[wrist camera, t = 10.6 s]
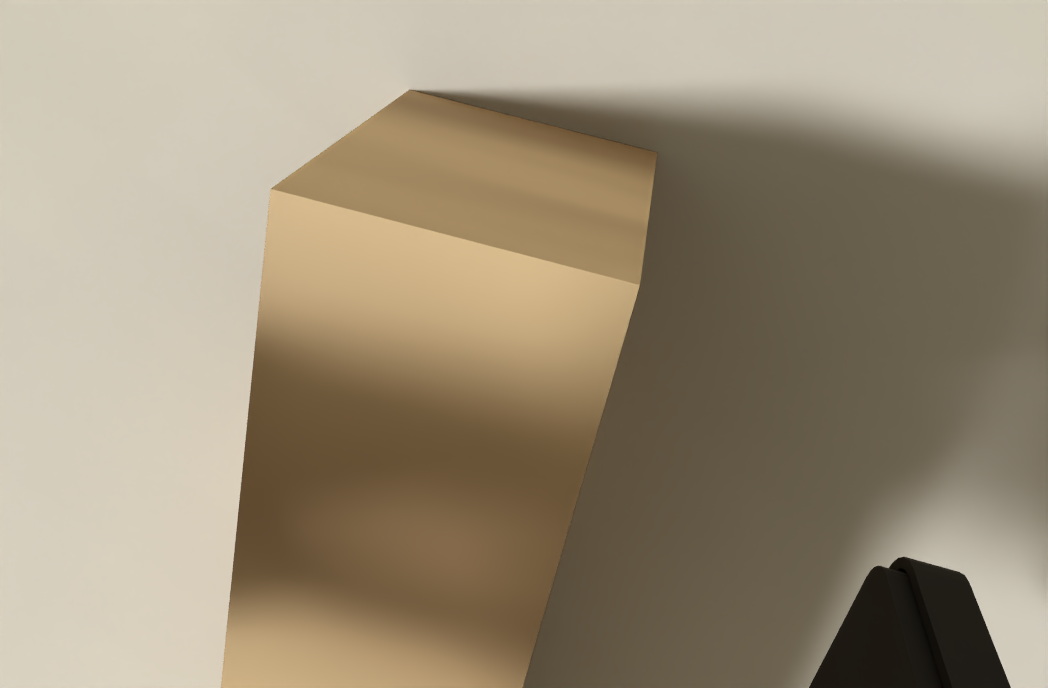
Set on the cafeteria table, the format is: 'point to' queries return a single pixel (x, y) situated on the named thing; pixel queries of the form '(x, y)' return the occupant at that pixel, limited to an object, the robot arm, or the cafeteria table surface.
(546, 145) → the plank
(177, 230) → the cafeteria table surface
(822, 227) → the cafeteria table surface
